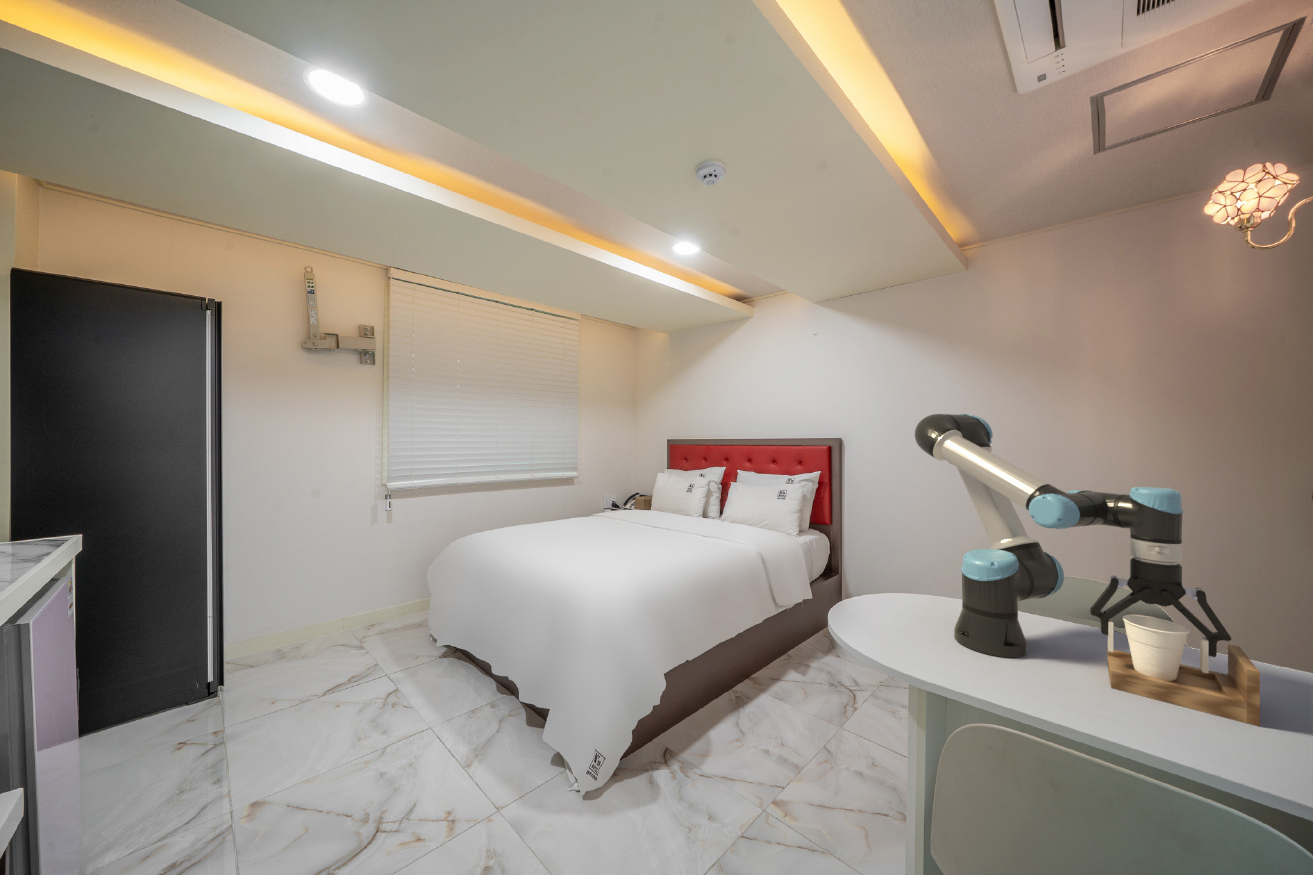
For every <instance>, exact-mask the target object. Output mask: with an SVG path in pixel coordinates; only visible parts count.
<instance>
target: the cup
mask: <svg viewBox="0 0 1313 875" xmlns="http://www.w3.org/2000/svg"><path fill="white" fill-rule="evenodd" d="M1121 620H1122V621H1123V623H1124V627H1125V628H1124V629H1125V633H1126V637H1127V640H1128V646H1129V650H1130V652H1129V653H1131V656H1132V661H1133V666H1134V669H1135V670H1136V671H1137V672H1138V673H1140V674H1142V675H1144V676H1147V677H1151V678H1155V679H1159V680H1164V681H1173V680H1176V678H1177V674H1178V670H1179V666H1180V664H1181V662H1182V658H1183V654H1184V649H1185V646H1186V643H1187V639H1188V634H1190V633H1191V630H1190V629H1189V628H1188V627H1187V626H1185V625H1182V624H1180V623H1178V622H1174V621H1172V620H1167V619H1164V618H1159V617H1155V616H1149V615H1143V614H1124V615H1123V616H1121Z"/></svg>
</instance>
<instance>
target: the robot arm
mask: <svg viewBox="0 0 1313 875" xmlns="http://www.w3.org/2000/svg"><path fill="white" fill-rule="evenodd" d="M992 438H993V429H992V428H991V426H990V424H989V423H988V422H987V421H986V420H985V419H984V418H982V417H981V416H977V415H974V414H973V415H972V414H967V413H959V414H951V413H950V414H949V413H948V414H947V413H946V414H945V413H935V414H930V415H927V416H925V417H923V418H922V419H921V420H920V421H919V422H918V423H917V425H916V427H915V430H914V439H915V440H914V441H915V442H916V444H917V446H918V447H919V448H920V449H921V450H922V451H923V452H925V453H926V454H927V455H929V456H931V457H932V458H934V459H936V460H938V461H946V462H948V464H950V465H952V466H954V467H956V469H957V470H958V472H959V475H960V477H961V480H962V482H963V484H964V486H965V488H966V490H967V493H968V495H969V497H970V500H971V502H972V503H973V505H974V508H975V511H976V513H977V514H978V517H979V519H980V521H981V523H982V525H983V528H984V530H985V532H986V534H987V537H988V538H989V541H990V542H991V547H990V548H987V549H986V548H980V549H979V548H978V549H973V550H970V551H967V552H966V553H965V554H964V555H963V556H962V565H961V568H960V569H961V576H962V577H961V579H962V580H961V584H962V586H961V591H962V592H961V595H962V596H961V597H962V598H961V599H962V601H961V602H962V603H961V604H962V605H961V606H962V607H961V610H960V614H959V616H958V619H957V621H956V623H955V626H954V631H953V632H954V633H953V635H954V639H955V641H956V640H957V641H956V642H958V643H959V644H960V645H962V646H963V647H966V648H968V649H970V650H972V651H975V652H978V653H981V654H986V655H989V656H996V657H1002V658H1020V657H1021V658H1022V657H1024V656H1026V655H1027V653H1028V643H1027V640H1026V637H1025V635H1024V632H1023V628H1022V627H1021V624H1020V622H1019V602H1021V601H1027V600H1034V599H1041V598H1047V597H1048V596H1052V595H1054V594H1056V593H1057V592H1058V591H1060V590H1061V588H1062V586H1063V584H1064V582H1065V573H1064V569H1063V566H1062V565H1061V563H1060V562H1059V560H1058V559H1057V558H1056V557H1055V556H1053V555H1050V553H1048V552H1046V551H1044V550H1043V548H1042V546H1041V544H1040V542H1039V541H1038V540H1037V539H1035V538H1032V537H1030V535H1028V533H1027V531H1026V529H1025V527H1024V525H1023V523H1022V520H1021V519H1020V516H1019V515H1018V513H1017V511H1016V509H1015V507H1014V505H1013V503H1012V502H1014V503H1016V504H1017V505H1019V506H1020V507H1022V508H1024V509H1025V510H1027V511H1028V512H1029V516H1030V517H1031V519H1032V520H1033V522H1034V523H1035V524H1037V525H1039V526H1041V527H1043V528H1045V529H1046V528H1047V529H1056V530H1059V529H1060V530H1063V529H1069V528H1076V527H1088V526H1106V527H1113V528H1114V527H1116V528H1121V529H1128V530H1129V534H1130V538H1129V542H1130V543H1129V544H1130V545H1129V546H1130V547H1129V548H1130V549H1129V551H1130V552H1129V554H1130V556H1132V558H1130V559H1129V564H1130V565H1129V566H1130V567H1129V573H1130V574H1129V577H1128V579H1124V578H1120V577H1117V576H1116V575H1110V577H1109V584H1108V585H1107V587H1106V588H1105V590H1103V592H1102V593H1101V595H1099V597H1098V598H1097V599H1096V601H1095V602H1094V603H1093V605H1092V606H1091V607H1090V608H1089V612H1090V615H1091V616H1093V617H1096V618H1098V619H1100V632H1101V634H1102V635H1106V636H1107V648H1108V651H1109V652H1113V649H1114V620H1113V619H1112V618H1115V616H1117V615H1118V614H1121V613H1122V612H1124V611H1125V610H1126V609H1128V608H1129V607H1131V606H1132V605H1134V604H1137V603H1138V602H1139V601H1141V602H1143V603H1145V604H1148V605H1157V606H1161V607H1165V608H1166V607H1169V606H1173V607H1174V608H1175V609H1176V610H1177V611H1178V612H1180V614H1182V615H1183V617H1185V618H1186V619H1187V620H1188V621H1189V622H1190V623H1191V624H1192V625H1193V626H1194V627H1195V628H1196V629H1198V631H1199V632H1200V633H1201V634H1202V635H1204V636H1202V635H1200V636H1199V668H1200V669H1201V670H1202V672H1203V673H1208V670H1209V657H1213V658H1216V656H1217V655H1218V654H1217V652H1218V651H1217V650H1218V649H1217V648H1218V646H1217V645H1218V644H1217V643H1218V642H1220V641H1221V642H1222V641H1226V642H1230V641H1232V637H1231V635H1230V634H1229V633H1228V631H1227V629H1226V628H1225V626H1224V625H1223V623H1222V622H1221V621H1220V619H1219V617H1217V614H1216V613H1215V612H1214V611H1213V609H1212V608H1211V606H1210V605H1209V603H1208V601H1207V594H1206V592H1205V591H1204V590H1203V589H1202V588H1201V587H1195V588H1185V587H1184V586H1183V566H1182V565H1181V564H1179V563H1181V562H1183V551H1182V550H1183V549H1182V548H1183V547H1182V546H1183V545H1182V544H1183V540H1182V539H1183V538H1182V534H1183V533H1182V532H1183V514H1184V510H1183V504H1182V503H1183V502H1182V494H1181V493H1180V492H1179V490H1177V489H1173V488H1168V487H1167V488H1166V487H1152V486H1134V487H1132V488H1130V492H1129V494H1125V493H1124V494H1120V493H1112V492H1101V491H1092V490H1087V489H1086V490H1081V489H1079V490H1077V489H1075V490H1070V491H1068V492H1065V491H1064V490H1061V489H1059V488H1057V487H1056V486H1053V485H1051V484H1050V483H1048V482H1046V481H1045V480H1043V479H1041V478H1039V477H1037V476H1035V475H1033V474H1032V473H1030V472H1028V471H1026V470H1024V469H1022V468H1020V467H1019V466H1016V465H1014V464H1013V463H1011V462H1009V461H1007V460H1005V459H1003V458H1001V457H1000V456H998V455H995V454H994V453H993V452H992V451H993V449H992V446H991V443H992V442H993V441H992ZM1124 586H1127V587H1128V588H1129V589H1130V591H1132V592H1129V594H1127V595H1126V596H1124V597H1123V598H1121V600H1118V601H1117V602H1116V603H1115V604H1113V605H1111V606H1110V607H1108V608H1107V609H1105V610H1104V611H1102V610H1103V608H1104V607H1105V606H1106V605H1107V604H1108V603H1109V601H1110V600H1111V598H1112V597H1114V595H1115V593H1116V592H1117V590H1118V589H1122V588H1123V587H1124ZM1186 595H1188V596H1189V597H1190V598H1191V600H1193V601H1196V602H1197V603H1198V605H1199V606H1200V608H1201V609H1202V611H1203V612H1204V614H1205V615H1206V617H1207V618H1208V620H1209V621H1210V622H1211V625H1212V626H1213V627H1214V629H1215V630H1216V631H1211V629H1210V628H1208V627H1207V626H1206V625H1205V624H1204V623H1203V622H1202V621H1201V620H1200V619H1199V618H1198V617H1196V616H1195V614H1194V613H1193V612H1191V610H1189V609H1188V608H1187V607H1186V605H1184V604H1183V603H1182V602H1181V601H1180V599H1182V598H1183V597H1184V596H1186Z"/></svg>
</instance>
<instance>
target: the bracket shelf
mask: <svg viewBox="0 0 1313 875" xmlns="http://www.w3.org/2000/svg"><path fill="white" fill-rule="evenodd" d="M1106 650H1107V652H1106V653H1107V655H1106V656H1107V658H1106V659H1107V660H1106V661H1107V668H1108V669H1107V670H1108V675H1109V681H1110V689H1114V690H1119V691H1122V692H1125V693H1129V694H1133V695H1137V696H1141V697H1145V698H1148V699H1153V700H1157V701H1159V702H1160V701H1161V702H1164V703H1168V704H1172V705H1176V706H1180V707H1183V708H1186V709H1187V708H1188V709H1190V710H1191V709H1192V710H1195V711H1199V712H1203V713H1207V714H1210V715H1214V716H1218V717H1222V718H1226V719H1230V720H1234V721H1237V722H1241V723H1245V724H1249V725H1253V726H1255V727H1260V726H1261V720H1260V719H1261V716H1260V714H1261V711H1260V710H1261V709H1260V707H1261V706H1260V705H1261V702H1260V700H1261V685H1260V684H1261V672H1260V671H1259V669H1258V668H1257V667H1256V665H1255V664H1254V663H1253V662H1252V661H1251V659H1250V658H1249V657H1248V655H1247V654H1246V652H1244V650H1243V649H1242V648H1241V646H1237V645H1234V644H1227V673H1223V672H1218V671H1213V670H1210V669H1208V673H1203V672H1202V670H1201V668H1200V667H1196V666H1191V665H1185V664H1182V663H1180V666H1179V670H1178V674H1177V678H1176V680H1173V681H1164V680H1159V679H1155V678H1151V677H1147V676H1144V675H1142V674H1140V673H1138V672H1137V671H1136V670H1135V669H1134V666H1133V661H1132V656H1131V652H1126V651H1123V650H1118V649H1114V648H1113V652H1109V651H1108V647H1107V649H1106Z"/></svg>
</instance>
